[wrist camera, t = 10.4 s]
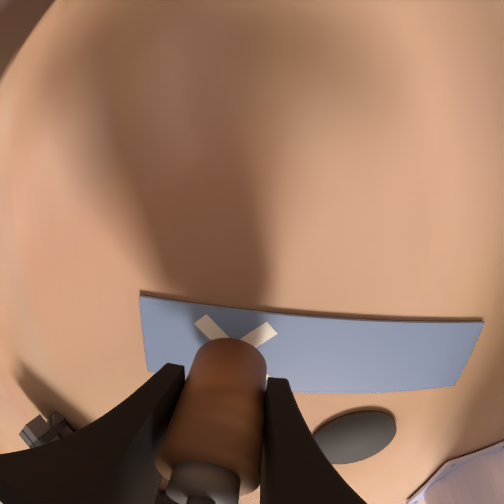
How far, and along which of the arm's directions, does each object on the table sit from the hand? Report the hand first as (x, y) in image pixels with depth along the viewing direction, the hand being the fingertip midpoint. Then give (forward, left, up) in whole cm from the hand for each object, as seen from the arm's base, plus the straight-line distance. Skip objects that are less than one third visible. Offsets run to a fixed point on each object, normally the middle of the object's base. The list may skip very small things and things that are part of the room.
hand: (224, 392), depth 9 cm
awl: (0, 0, -2) cm, 2 cm away
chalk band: (-4, 0, -3) cm, 5 cm away
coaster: (-7, +6, -3) cm, 10 cm away
